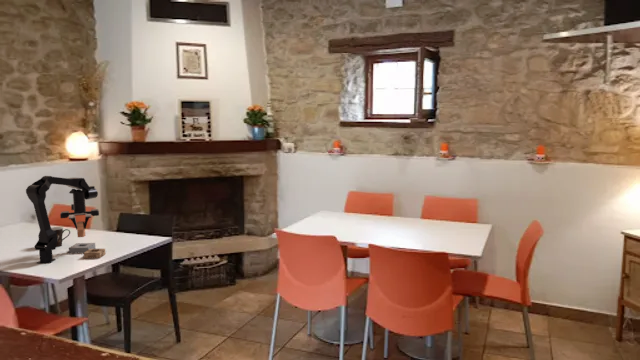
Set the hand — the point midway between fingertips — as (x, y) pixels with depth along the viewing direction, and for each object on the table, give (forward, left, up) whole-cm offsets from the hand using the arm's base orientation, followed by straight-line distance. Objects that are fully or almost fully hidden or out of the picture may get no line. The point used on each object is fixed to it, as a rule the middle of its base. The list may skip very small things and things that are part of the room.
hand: (81, 229), depth 276 cm
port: (0, 0, -12) cm, 12 cm away
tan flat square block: (-12, -11, -12) cm, 20 cm away
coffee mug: (+12, +18, -12) cm, 25 cm away
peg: (0, 0, -4) cm, 4 cm away
